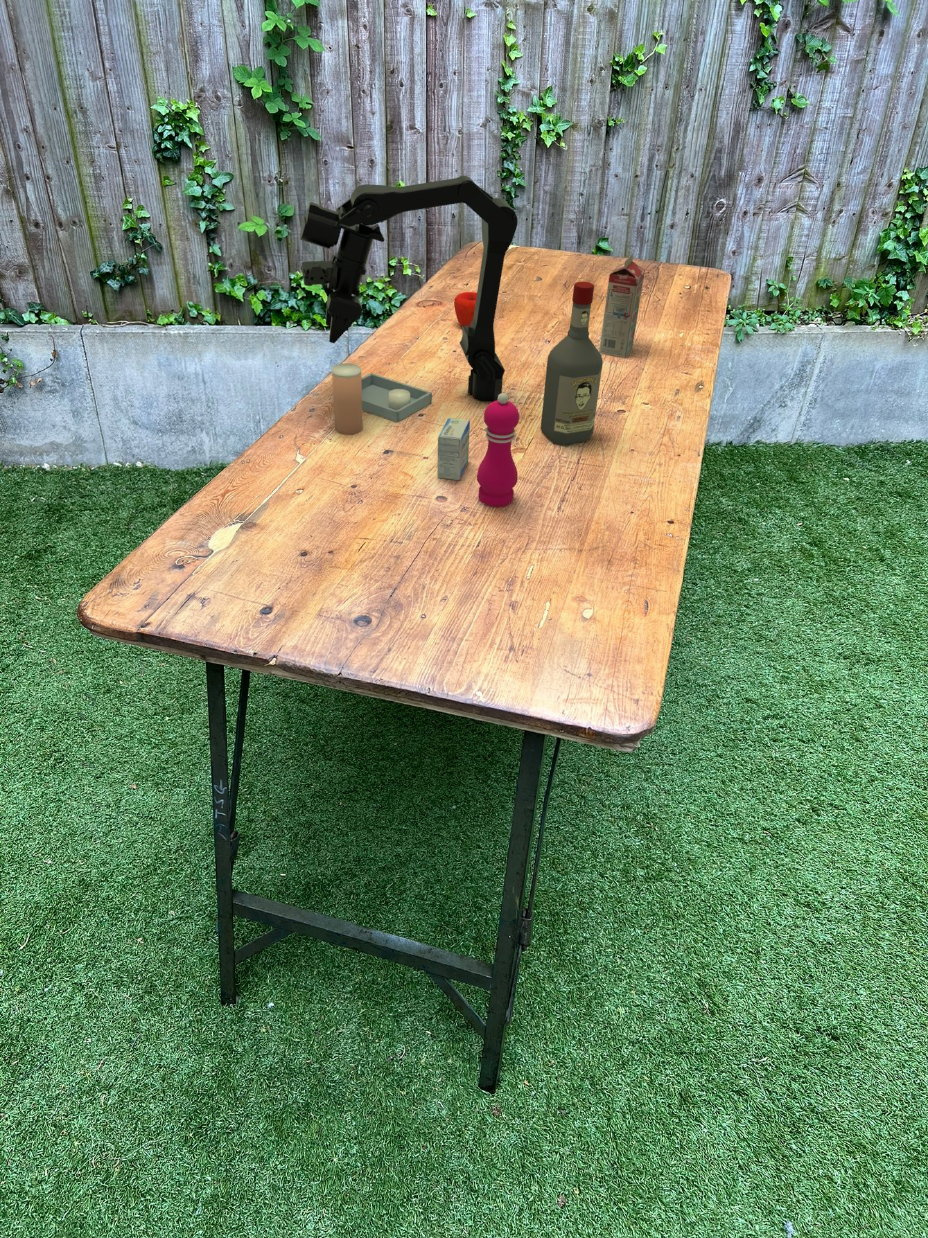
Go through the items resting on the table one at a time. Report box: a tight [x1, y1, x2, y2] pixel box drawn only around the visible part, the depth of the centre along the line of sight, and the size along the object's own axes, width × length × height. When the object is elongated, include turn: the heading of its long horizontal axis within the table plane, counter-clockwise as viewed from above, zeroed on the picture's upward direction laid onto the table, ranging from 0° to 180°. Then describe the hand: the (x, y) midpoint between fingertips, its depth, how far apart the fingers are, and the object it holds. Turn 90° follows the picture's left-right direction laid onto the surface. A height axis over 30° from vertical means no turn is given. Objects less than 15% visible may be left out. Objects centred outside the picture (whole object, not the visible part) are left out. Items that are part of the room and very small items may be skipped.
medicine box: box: [436, 417, 471, 481], centre depth 169 cm, size 8×4×9 cm, turn 168°
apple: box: [453, 291, 477, 328], centre depth 228 cm, size 9×9×8 cm
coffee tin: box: [331, 362, 364, 436], centre depth 178 cm, size 6×6×13 cm
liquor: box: [540, 281, 604, 447], centre depth 176 cm, size 9×9×30 cm
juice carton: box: [598, 253, 645, 359], centre depth 215 cm, size 7×7×22 cm
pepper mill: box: [476, 392, 520, 508], centre depth 158 cm, size 7×7×20 cm
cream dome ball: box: [389, 389, 410, 410], centre depth 189 cm, size 4×4×3 cm
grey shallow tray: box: [361, 372, 433, 424], centre depth 191 cm, size 16×12×3 cm
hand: (329, 333), depth 182 cm, fingers open, 9 cm apart
